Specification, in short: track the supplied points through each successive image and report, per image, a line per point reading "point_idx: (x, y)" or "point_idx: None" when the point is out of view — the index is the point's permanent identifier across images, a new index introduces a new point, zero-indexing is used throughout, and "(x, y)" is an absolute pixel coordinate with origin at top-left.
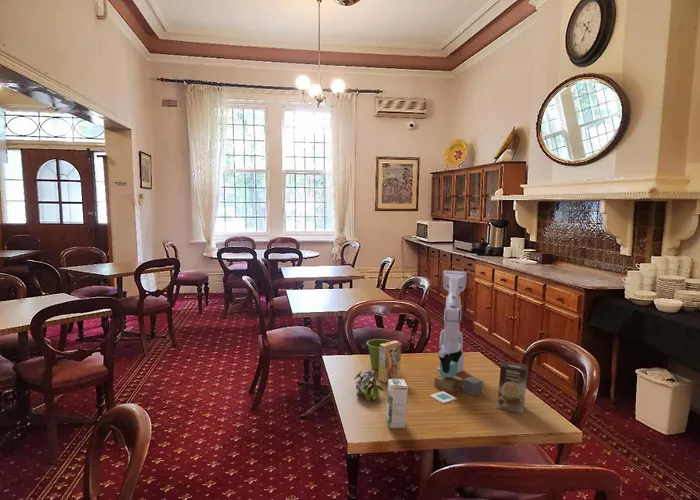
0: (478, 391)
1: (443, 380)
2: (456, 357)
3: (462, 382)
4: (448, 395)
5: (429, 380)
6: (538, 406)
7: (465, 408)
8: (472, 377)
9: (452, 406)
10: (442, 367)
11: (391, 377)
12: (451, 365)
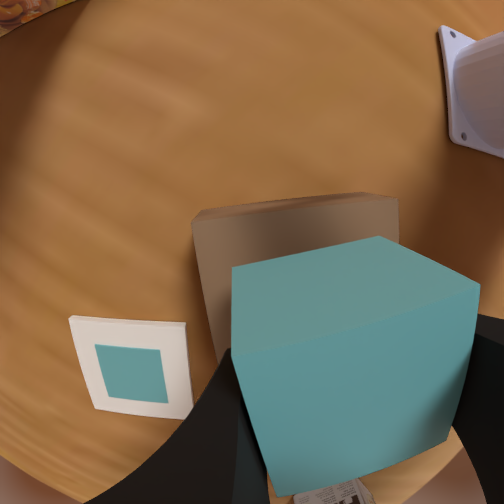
0: None
1: (218, 321)
2: (486, 457)
3: None
4: (172, 381)
5: (254, 101)
6: (402, 494)
7: None
8: None
9: (126, 435)
10: (210, 383)
11: (16, 16)
12: (282, 494)
